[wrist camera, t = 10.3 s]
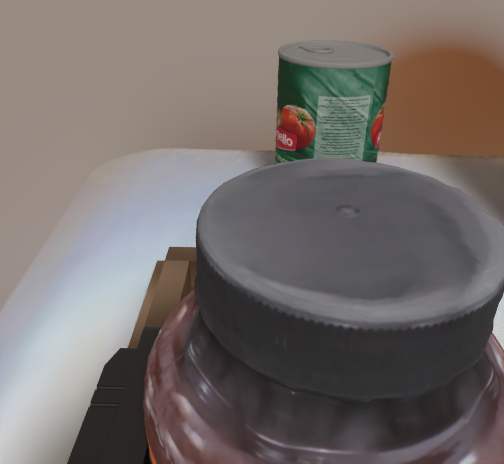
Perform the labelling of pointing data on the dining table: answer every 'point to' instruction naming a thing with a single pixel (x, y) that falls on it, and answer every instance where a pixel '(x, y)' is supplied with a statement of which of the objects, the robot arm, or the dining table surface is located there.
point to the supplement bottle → (334, 324)
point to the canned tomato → (331, 100)
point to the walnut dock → (166, 289)
